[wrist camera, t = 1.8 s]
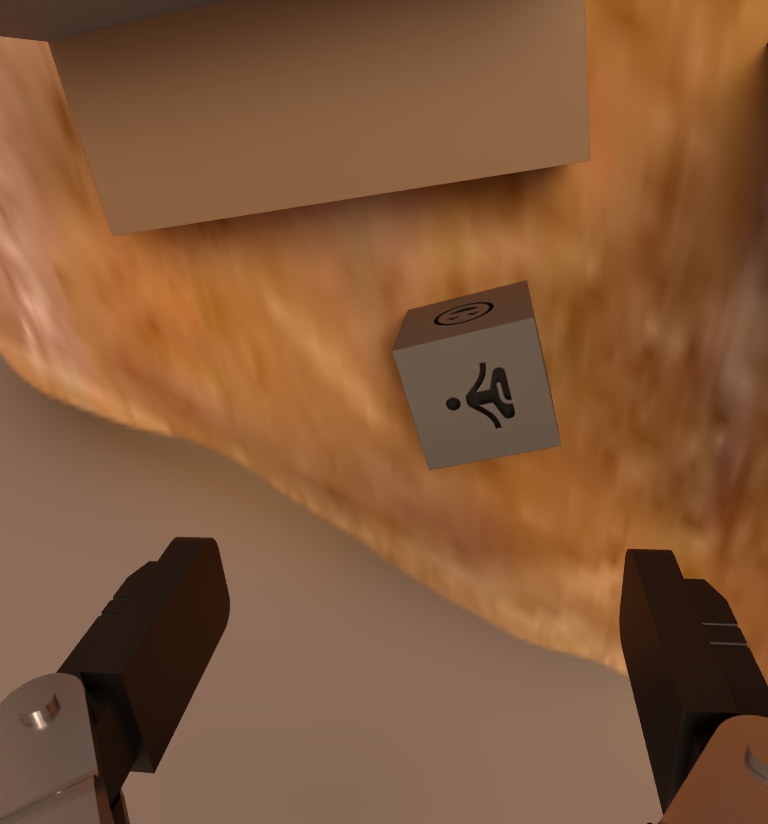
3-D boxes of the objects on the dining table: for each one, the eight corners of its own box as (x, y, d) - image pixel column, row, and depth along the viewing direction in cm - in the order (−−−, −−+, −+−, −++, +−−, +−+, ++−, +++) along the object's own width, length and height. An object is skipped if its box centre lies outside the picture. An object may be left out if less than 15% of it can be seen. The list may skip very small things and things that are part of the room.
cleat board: (561, -90, 21) (621, -251, 11) (572, 148, 24) (626, 185, 14) (117, 14, 24) (-137, -39, 14) (174, 212, 27) (-4, 280, 17)
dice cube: (550, 390, 28) (561, 445, 24) (438, 413, 30) (429, 470, 25) (526, 279, 26) (533, 317, 22) (408, 309, 28) (392, 351, 23)
